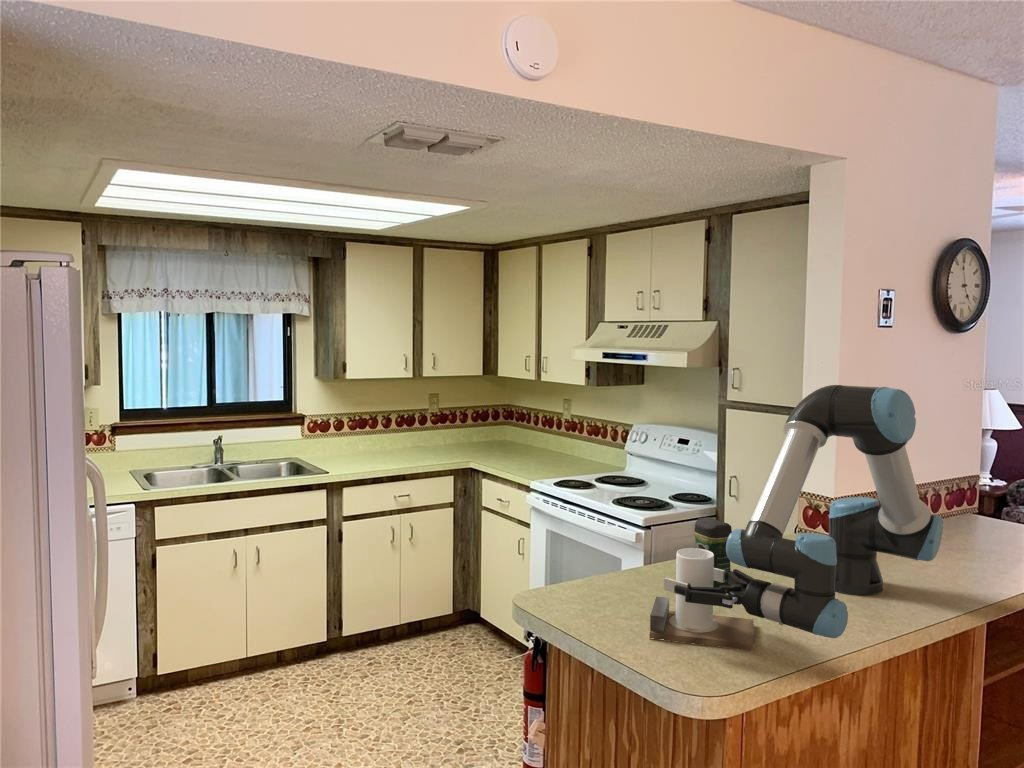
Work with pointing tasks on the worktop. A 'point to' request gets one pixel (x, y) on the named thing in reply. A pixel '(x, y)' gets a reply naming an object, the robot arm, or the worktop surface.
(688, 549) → the cup
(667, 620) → the board
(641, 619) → the worktop surface
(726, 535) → the coffee jar
